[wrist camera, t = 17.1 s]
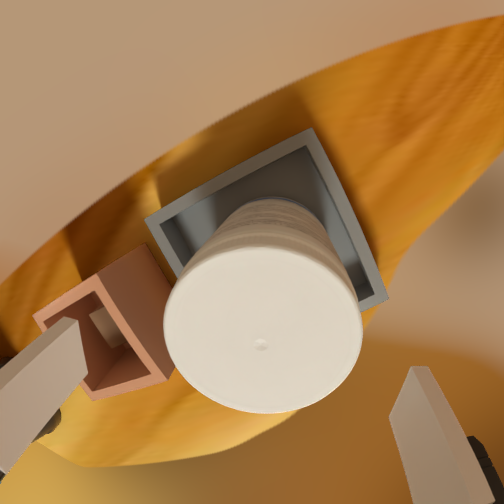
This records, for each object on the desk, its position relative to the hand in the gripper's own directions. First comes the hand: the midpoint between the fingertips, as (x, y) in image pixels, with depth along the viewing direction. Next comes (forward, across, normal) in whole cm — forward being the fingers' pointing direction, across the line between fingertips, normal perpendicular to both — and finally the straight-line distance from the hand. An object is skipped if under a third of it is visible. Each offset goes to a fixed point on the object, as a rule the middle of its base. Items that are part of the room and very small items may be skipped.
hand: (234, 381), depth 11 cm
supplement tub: (+18, +1, 0) cm, 18 cm away
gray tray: (+18, 0, 0) cm, 19 cm away
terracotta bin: (+19, -13, -8) cm, 24 cm away
